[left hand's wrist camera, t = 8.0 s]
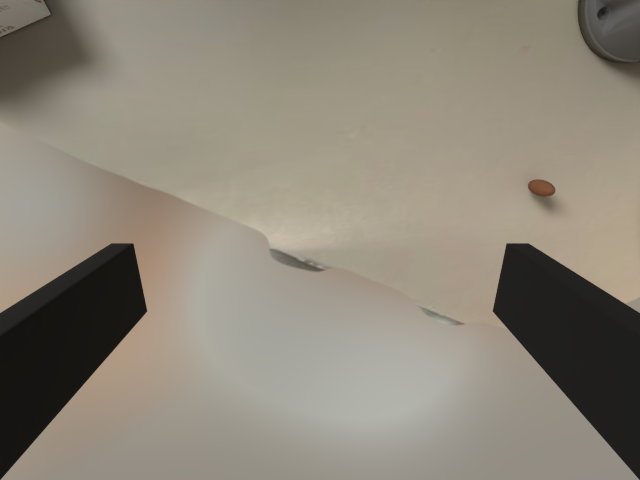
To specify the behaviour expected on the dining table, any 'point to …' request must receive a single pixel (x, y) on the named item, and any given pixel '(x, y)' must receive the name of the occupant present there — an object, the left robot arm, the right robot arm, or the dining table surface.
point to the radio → (20, 14)
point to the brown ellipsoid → (541, 188)
